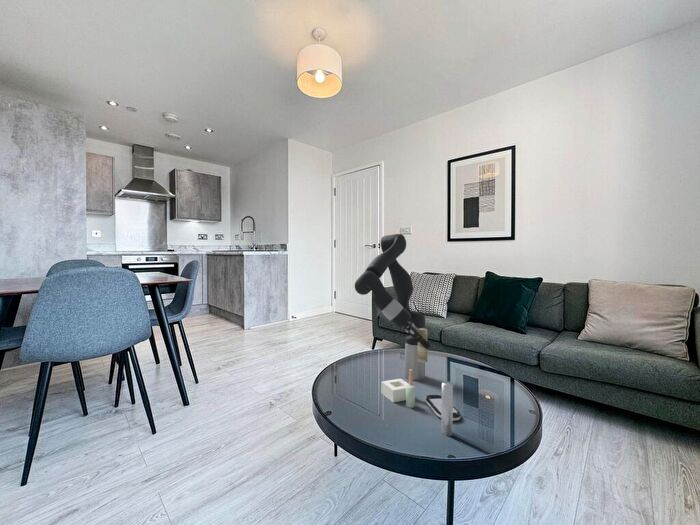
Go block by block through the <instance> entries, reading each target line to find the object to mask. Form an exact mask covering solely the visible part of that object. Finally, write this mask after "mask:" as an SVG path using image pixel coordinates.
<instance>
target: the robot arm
mask: <svg viewBox="0 0 700 525" xmlns="http://www.w3.org/2000/svg"><path fill="white" fill-rule="evenodd" d="M380 248H381V251H382V253H381V252H380V254H379V255H377V256H376V257H374V258H373V259H372V260H371V262H370V263H369V264H368V266H367V267H366V269H365V270H364V272H363V273H362V274H360V276H359V277H358V278H357V279H356V280H355V282H354V289H355V291H356V293H357V294H359V295H361V296H365V295H368V294H370V293H371V292H372V294H373V297H372V300H371V302H372V303H373V304H374V305H375V306H376V307H377V308H378V310H379V311H381V313H382V315H384V316H385V317H386V319H387V320H388V321H389V322H391V324H392V325H393V326H394V327H395V328H396V329H400V328H401V327H403V328H404V329H403V330H404V331H405V332H406V333H407V334H408V335H407V336H405V339H404V346H405V347H404V377H405V378H406V379H408V380H409V369H412V370H413V381H421V380H423V379H425V378H426V362H419V361H418V342H420V343H421V344H422V345H423V346H424V347H425V349H427V350H428V349H429V348H430V347H431V344H430V342H429V340H427V341H426V340H425V339H424V338H423V336H421V334H420V332H419V330H418V329H421V328H422V329H426V317H425V315H424V313H423V312H419V311H413V310H411V308H410V300H411V297H412V296H413V295H412V294H413V292H414V286H413V282H412V277H411V275H410V274H409V272H408V271H407V270H406V269H405V268H404V267H403V266H402V265H401V264H400V262H399V261H398V258H399V257H400V256H401V255H402V254H403V253H404V252H405V250H406V248H407V240H406V237H405V236H404V235H403V234H402V233H396V234H388V235H384V236H382V237H381V238H380ZM386 270H388V272H389V274H390V277H391V278H390V279H391V282H392V287H393V290H394V292H395V296H396V299H397V300H396V299H395V298H394V297H393V296H392V295H391V294H390V293H389V292H388V291H387V289H386V287H385V286H384V284H383V283H382V282H383V281H381V279H380V278H382V276H383V275H384V273H385V271H386ZM418 336H420V337H419V338H418Z"/></svg>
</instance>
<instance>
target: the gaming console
mask: <svg viewBox="0 0 700 525" xmlns="http://www.w3.org/2000/svg"><path fill="white" fill-rule="evenodd" d="M424 401H425V403H426V405H427V406H428V407H429V408H430V409H431V411H433V413H434V414H435V415H436V417H438V419H440V420H441V418H442V395H440V394H429V395H425V397H424ZM460 420H462V414H461V412H460V411H459V410H458V409H457V408H456V406H454V405H453V423H455V422H459V421H460Z"/></svg>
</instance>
